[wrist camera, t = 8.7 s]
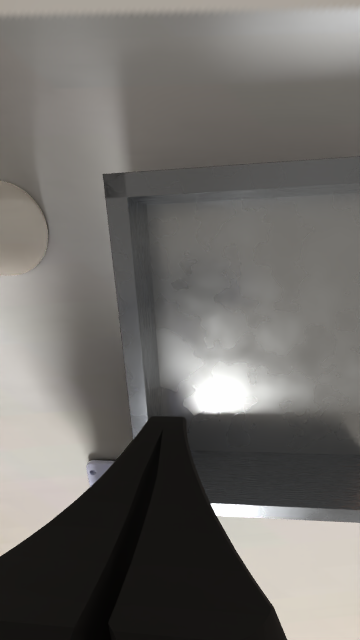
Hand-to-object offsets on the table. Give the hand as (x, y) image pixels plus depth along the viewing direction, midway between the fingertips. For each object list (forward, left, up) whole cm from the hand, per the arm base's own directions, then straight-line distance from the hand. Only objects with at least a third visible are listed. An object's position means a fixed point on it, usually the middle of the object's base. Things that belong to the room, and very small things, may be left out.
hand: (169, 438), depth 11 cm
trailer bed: (0, -5, -10) cm, 12 cm away
